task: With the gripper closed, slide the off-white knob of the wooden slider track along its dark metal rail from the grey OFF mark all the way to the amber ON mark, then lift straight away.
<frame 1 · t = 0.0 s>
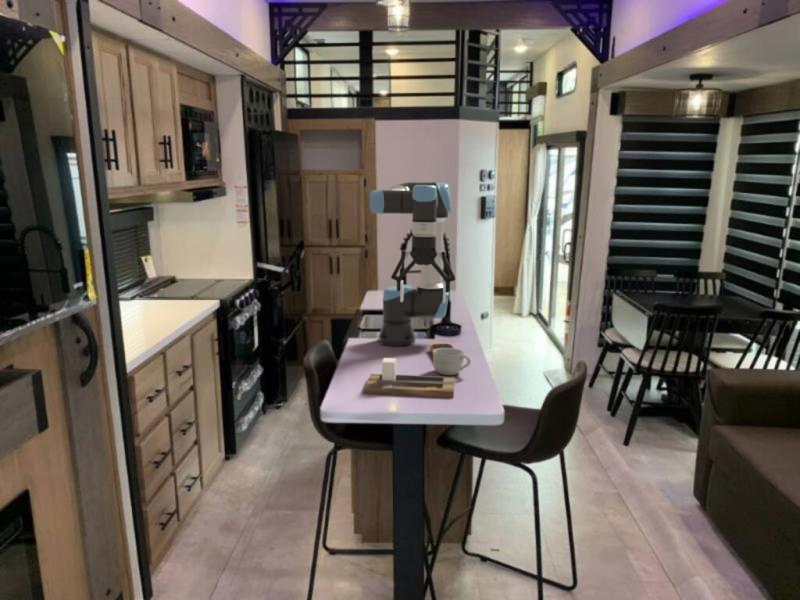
hand: (422, 301, 188), 28 cm above the kitchen island, tool pointing down, fingers open, 13 cm apart
teacup: (451, 374, 205), on the kitchen island
switch knob: (389, 370, 190), point 6 cm above the kitchen island, slide at -7.0 cm
multimeter: (444, 358, 224), on the kitchen island
wooden slider track: (410, 388, 191), on the kitchen island
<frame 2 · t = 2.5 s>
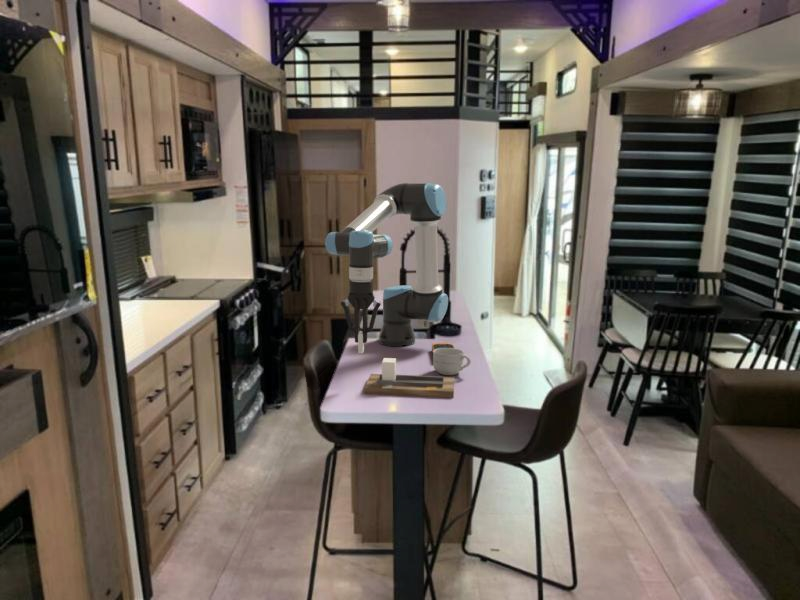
hand: (361, 352, 189), 12 cm above the kitchen island, tool pointing down, fingers closed
nothing on the kitchen island moved.
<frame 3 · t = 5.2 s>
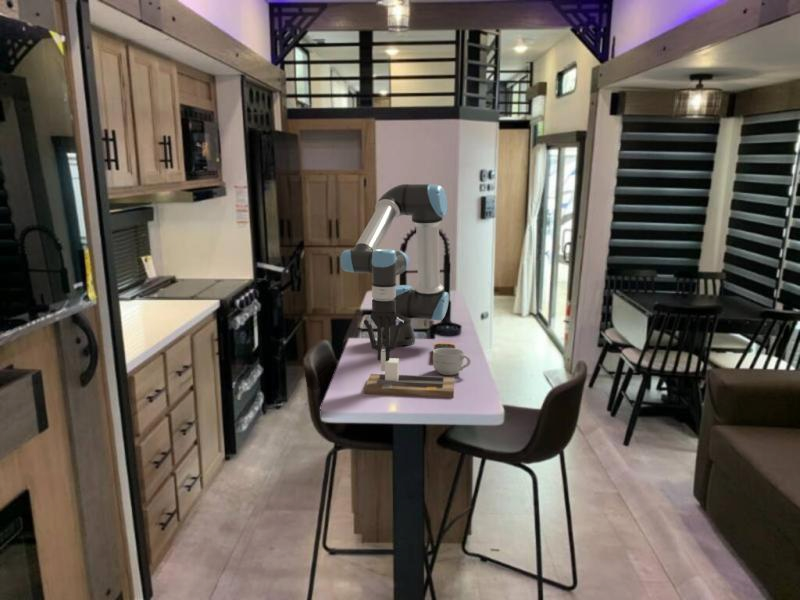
hand: (383, 369, 190), 6 cm above the kitchen island, tool pointing down, fingers closed
switch knob: (392, 370, 190), point 6 cm above the kitchen island, slide at -6.1 cm, touching gripper
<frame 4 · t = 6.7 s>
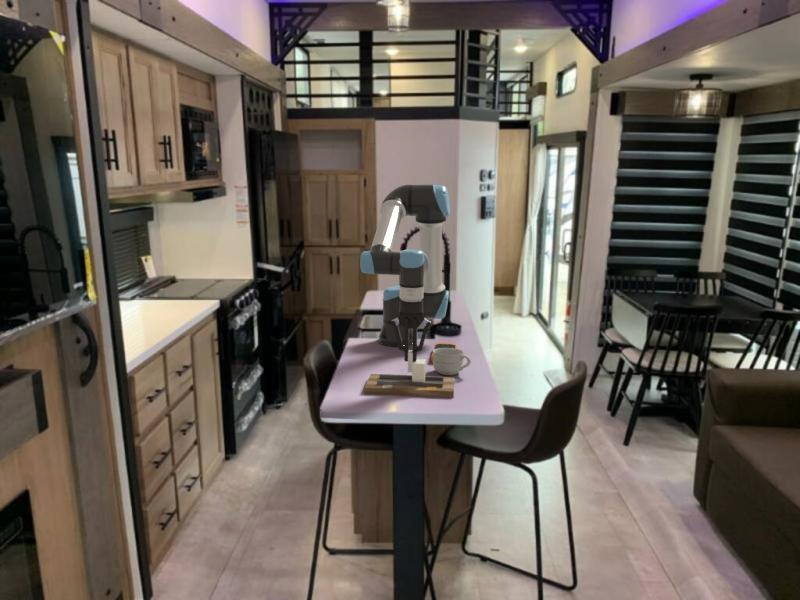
hand: (410, 370, 189), 6 cm above the kitchen island, tool pointing down, fingers closed
switch knob: (418, 371, 189), point 6 cm above the kitchen island, slide at 2.7 cm, touching gripper
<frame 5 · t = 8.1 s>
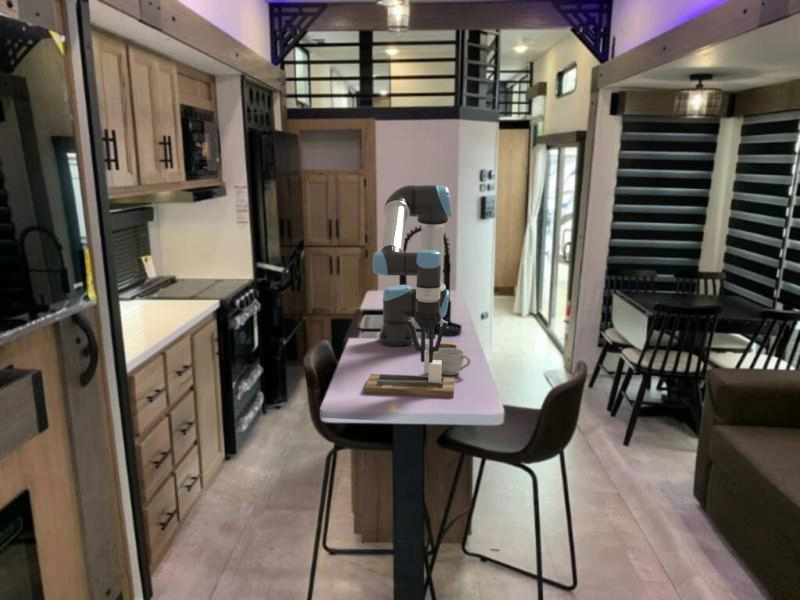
hand: (426, 371, 189), 6 cm above the kitchen island, tool pointing down, fingers closed
switch knob: (435, 372, 189), point 6 cm above the kitchen island, slide at 7.9 cm, touching gripper
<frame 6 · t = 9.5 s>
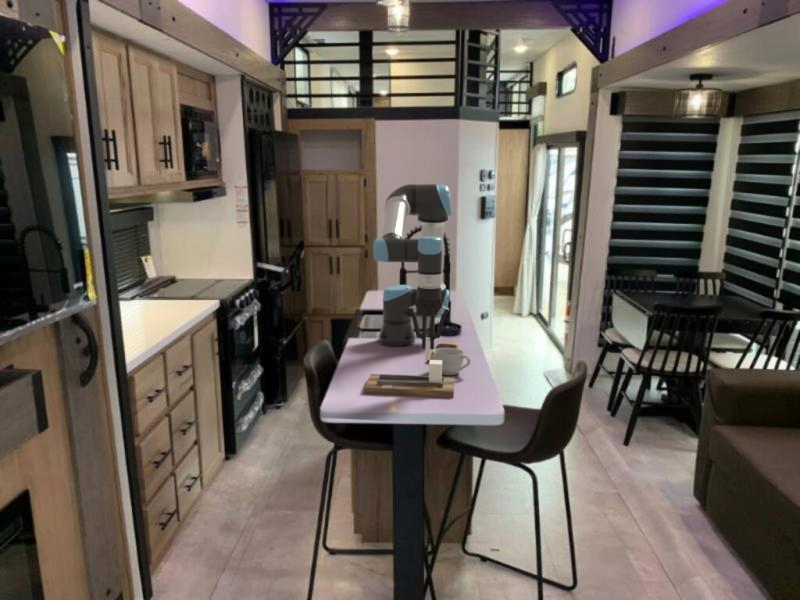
hand: (427, 358, 188), 10 cm above the kitchen island, tool pointing down, fingers closed
switch knob: (435, 372, 189), point 6 cm above the kitchen island, slide at 8.0 cm
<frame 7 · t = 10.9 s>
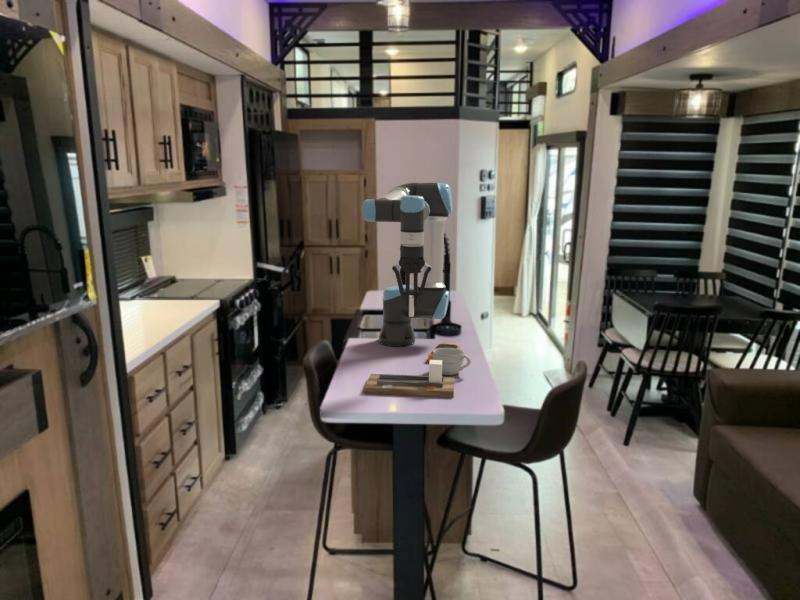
hand: (411, 315, 194), 22 cm above the kitchen island, tool pointing down, fingers closed
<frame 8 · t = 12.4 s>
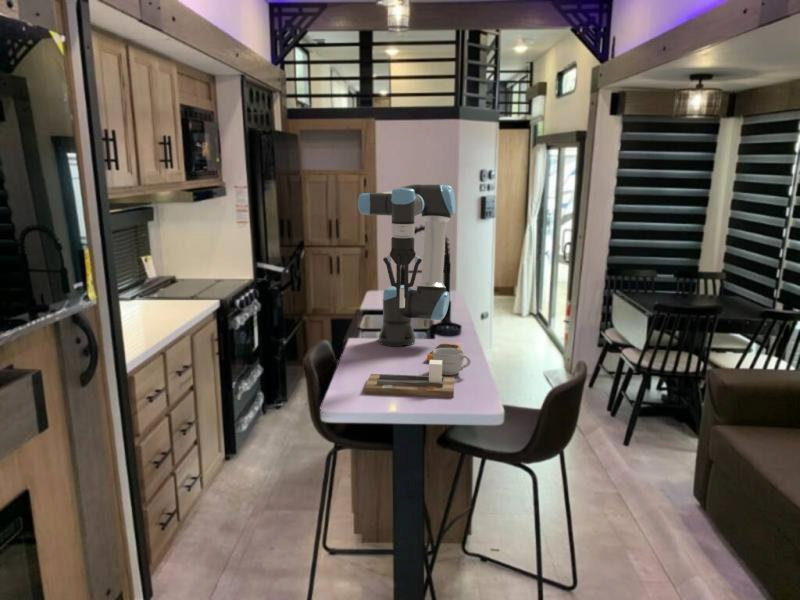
hand: (402, 307, 196), 24 cm above the kitchen island, tool pointing down, fingers closed
at the end: switch knob slide at 8.0 cm; teacup moved 0.3 cm from its start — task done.
